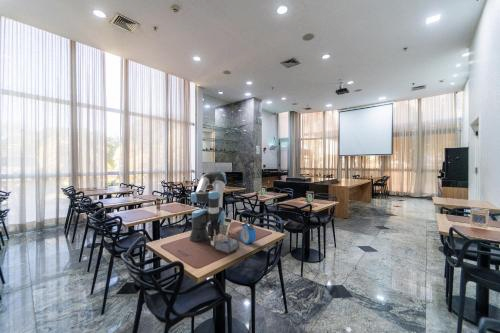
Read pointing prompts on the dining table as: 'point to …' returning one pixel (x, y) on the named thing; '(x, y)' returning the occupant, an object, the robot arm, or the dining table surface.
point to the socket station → (229, 241)
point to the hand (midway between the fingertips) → (214, 244)
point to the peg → (214, 238)
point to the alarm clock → (247, 233)
